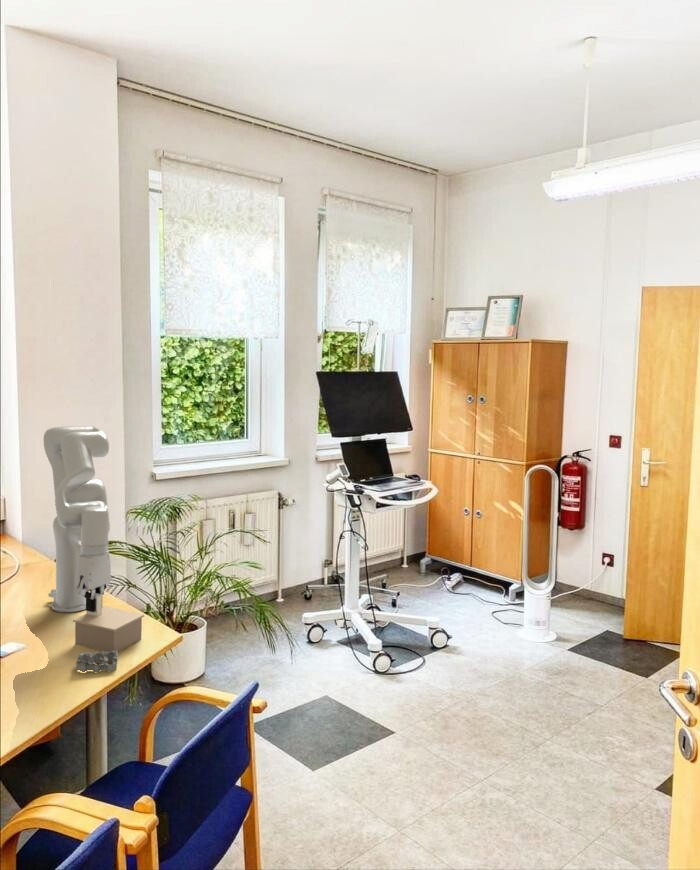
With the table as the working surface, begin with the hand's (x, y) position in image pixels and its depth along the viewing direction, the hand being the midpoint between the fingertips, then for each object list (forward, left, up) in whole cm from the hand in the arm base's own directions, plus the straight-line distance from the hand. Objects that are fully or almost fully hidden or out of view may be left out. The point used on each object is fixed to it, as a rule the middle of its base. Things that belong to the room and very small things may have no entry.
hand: (94, 609), depth 210 cm
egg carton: (+14, -15, -9) cm, 22 cm away
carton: (+5, 0, -9) cm, 10 cm away
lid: (+5, 0, -2) cm, 6 cm away
